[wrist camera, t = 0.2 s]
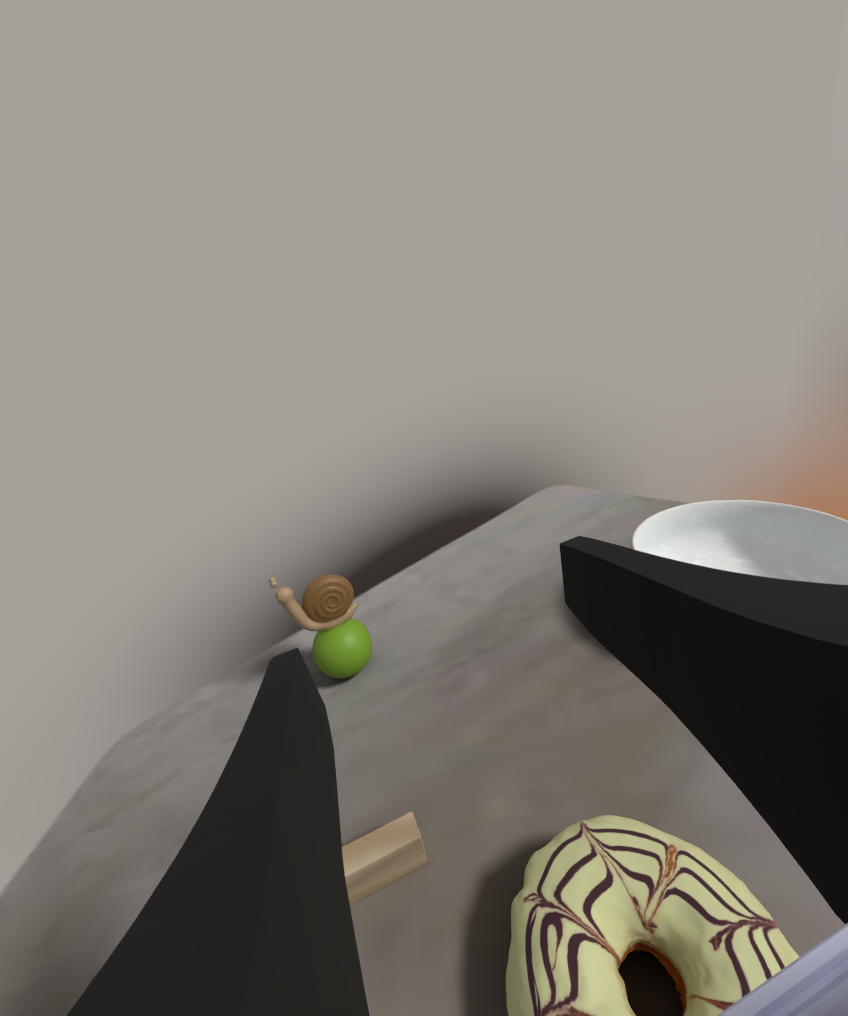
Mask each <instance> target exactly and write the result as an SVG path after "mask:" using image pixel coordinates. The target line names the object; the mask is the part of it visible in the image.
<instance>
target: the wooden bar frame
mask: <svg viewBox="0 0 848 1016" xmlns="http://www.w3.org/2000/svg"><path fill="white" fill-rule="evenodd" d="M342 855H343V864H344V872H345V880H346V886H347V892H348V898H349V904H350V905H351V904H353V903H355V902H357V901H358V900H360V899H362V898H364V897H366V896H368V895H369V894H371V893H373V892H375V891H377V890H379V889H380V888H382V887H384V886H386V885H388V884H390V883H391V882H393V881H395V880H397V879H399V878H401V877H402V876H404V875H406V874H408V873H410V872H412V871H413V870H415V869H417V868H419V867H421V866H423V865H424V864H426V863H428V862H429V860H428V857H427V854H426V851H425V848H424V845H423V842H422V838H421V835H420V832H419V830H418V827H417V824H416V821H415V818H414V815H413V812H410V813H408V814H406V815H404V816H402V817H400V818H398V819H396V820H394V821H392V822H390V823H388V824H387V825H385V826H383V827H381V828H379V829H377V830H375V831H373V832H371V833H369V834H367V835H365V836H363V837H361V838H359V839H357V840H355V841H353V842H351V843H349V844H347V845H345V846H343V847H342Z"/></svg>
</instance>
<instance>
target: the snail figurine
mask: <svg viewBox="0 0 848 1016" xmlns="http://www.w3.org/2000/svg"><path fill="white" fill-rule="evenodd" d="M269 581H270V583H271V587H274V588H275V587H276V586H277V582H276V579H275V578H274V577H272V578H270V579H269ZM275 591H276V595H275V598H276V599H278V602H279V603H280V604H281V605H282V606H283V607H284V609H285V610H286V612H287V613H288V614H289V615H290V616H291V618H292V619H293V620H294V621H295V622H296V623H297V624H298V625H300V626H301V627H302V628H304V629H306V630H309V631H318V632H317V634H316V636H315V638H314V642H313V657H314V660H315V663H316V665H317V666H318V668H319V669H320V670H321V671H322V672H323V673H325V674H326V675H328V676H331V677H334V678H347V677H351V676H353V675H355V674H357V673H358V672H359V671H361V670H362V669H363V668H364V666H365V665H366V664H367V662H368V660H369V658H370V655H371V651H372V641H371V636H370V634H369V632H368V630H367V628H366V627H365V626H364V625H363V624H362V623H361V622H359V621H358V620H356V619H353V618H351V617H352V615H353V614H354V612H355V610H356V608H357V603H353V604H352V601H353V595H354V594H353V588H352V586H351V584H350V583H349V581H348V580H346V579H345V578H343V577H342V576H339V575H332V574H331V575H324V576H321V577H319V578H317V579H315V580H314V581H313V582H311V583H310V584H309V585H308V587H307V588H306V590H305V591H304V594H303V598H302V608H301V607H300V606H299V604H298V603H297V602H296V601H295V599H294V597H293V592H292V590H291V589H290V588H287V587H282V588H281V589H279V590H277V589H276V588H275Z"/></svg>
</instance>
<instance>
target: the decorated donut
mask: <svg viewBox="0 0 848 1016" xmlns="http://www.w3.org/2000/svg"><path fill="white" fill-rule="evenodd" d="M511 933H512V938H511V944H510V949H509V958H508V965H507V971H506V1002H507V1011H508V1016H636V1015H635V1014H634V1012H633V1011H632V1009H631V1007H630V1005H629V1002H628V999H627V995H626V988H625V984H624V981H623V979H622V977H621V976H620V974H619V972H618V969H619V967H620V965H621V963H622V961H623V960H624V959H625V958H626V955H627V954H628V953H629V952H632V951H637V952H638V951H640V950H643V951H646V952H650V953H652V954H653V955H655V957H656V958H658V961H660V962H661V963H662V964H663V966H664V967H665V968H666V969H667V971H668V974H670V975H671V976H672V977H673V979H674V981H675V982H676V988H675V989H676V990H678V991H679V993H680V994H681V997H679V998H681V1001H682V1003H683V1010H684V1015H683V1016H717V1015H718V1014H720V1013H721V1012H723V1011H724V1010H725V1009H727V1008H728V1007H730V1006H731V1005H733V1004H734V1003H735V1002H737V1001H738V1000H740V999H741V998H742V997H744V996H745V995H747V994H748V993H750V992H751V991H752V990H754V989H755V988H757V987H758V986H759V985H761V984H762V983H764V982H765V981H766V980H768V979H769V978H771V977H772V976H774V975H775V974H776V973H778V972H779V971H781V970H782V969H783V968H785V967H786V966H788V965H789V964H790V963H792V962H793V961H795V960H796V959H798V958H799V956H798V955H797V953H796V952H795V951H794V950H793V949H792V948H791V947H790V945H789V944H788V942H787V941H786V939H785V937H784V936H783V935H782V933H781V932H780V930H779V928H778V927H777V925H776V924H775V922H774V920H773V919H772V917H771V916H770V914H769V913H768V912H767V911H766V909H765V908H764V907H763V906H762V905H761V904H760V902H759V901H758V900H757V899H756V898H755V897H754V896H753V895H752V894H751V892H750V891H749V890H748V888H747V887H746V885H745V884H744V883H743V882H742V881H741V880H739V879H738V878H737V877H736V876H735V875H734V874H733V873H732V872H730V871H729V870H728V869H726V868H725V867H724V866H722V865H721V864H720V863H718V862H717V861H716V860H714V859H713V858H712V857H710V856H709V855H707V854H706V853H705V852H703V851H702V850H701V849H699V848H698V847H696V846H694V845H692V844H690V843H687V842H685V841H683V840H681V839H679V838H677V837H675V836H673V835H670V834H667V833H665V832H662V831H659V830H657V829H656V828H653V827H651V826H648V825H646V824H644V823H642V822H639V821H636V820H633V819H629V818H623V817H619V816H613V815H603V816H599V817H595V818H592V819H589V820H582V821H579V822H577V823H576V824H573V825H571V826H569V827H567V828H566V829H565V830H563V831H562V832H560V833H559V834H557V835H556V836H555V837H554V838H553V839H552V840H551V841H550V842H549V843H548V844H547V845H546V846H545V847H543V848H541V849H540V850H538V851H536V852H534V854H533V855H532V856H531V858H530V860H529V861H528V864H527V866H526V868H525V874H524V886H523V888H522V890H521V891H520V892H519V893H518V894H517V896H516V897H515V898H514V900H513V902H512V906H511Z"/></svg>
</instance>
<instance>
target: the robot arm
mask: <svg viewBox="0 0 848 1016" xmlns="http://www.w3.org/2000/svg"><path fill="white" fill-rule="evenodd" d="M560 553H561V563H562V573H563V583H564V594H565V603H566V604H567V606H568V607H569V608H570V609H571V611H572V612H573V613H574V614H575V616H576V617H577V618H578V619H579V621H580V622H581V623H582V624H583V625H584V627H585V628H586V629H587V630H588V631H589V632H590V633H591V634H592V635H593V636H594V637H595V638H596V639H597V640H598V641H599V642H600V643H601V644H602V645H603V646H604V647H605V648H606V649H607V650H609V651H610V652H611V653H612V654H613V655H614V656H615V657H616V658H617V659H618V660H619V661H620V662H621V663H622V664H624V665H625V666H626V667H627V668H628V669H629V670H630V671H631V672H632V673H633V674H634V675H635V676H636V677H637V678H639V679H640V680H641V681H642V682H643V683H644V684H645V685H646V686H647V687H648V688H649V689H650V690H651V691H653V692H654V693H655V694H656V695H657V696H658V697H659V698H660V699H661V700H662V701H663V702H664V703H665V704H666V705H667V706H668V707H669V708H670V709H671V710H672V712H673V713H674V714H675V715H676V716H677V717H678V718H679V719H680V720H681V722H682V723H683V724H684V725H685V726H686V727H687V728H688V729H689V731H690V732H691V733H692V734H693V735H694V736H695V737H696V738H697V739H698V741H699V742H700V743H701V744H702V745H703V746H704V747H705V749H706V750H707V751H708V752H709V753H710V755H711V756H712V757H713V758H714V759H715V760H716V762H717V763H718V764H719V765H720V766H721V767H722V769H723V770H724V771H725V772H726V773H727V775H728V776H729V777H730V778H731V779H732V780H733V782H734V783H735V784H736V785H737V787H738V788H739V789H740V790H741V791H742V793H743V794H744V795H745V796H746V798H747V799H748V800H749V801H750V803H751V804H752V805H753V806H754V808H755V809H756V810H757V811H758V813H759V814H760V815H761V816H762V818H763V819H764V820H765V821H766V823H767V824H768V825H769V826H770V827H771V829H772V830H773V831H774V833H775V834H776V835H777V836H778V838H779V839H780V840H781V842H782V843H783V844H784V846H785V847H786V848H787V850H788V851H789V852H790V854H791V855H792V856H793V858H794V859H795V860H796V861H797V863H798V864H799V865H800V867H801V868H802V869H803V871H804V872H805V873H806V875H807V876H808V877H809V879H810V880H811V881H812V882H813V884H814V885H815V887H816V888H817V889H818V891H819V892H820V893H821V895H822V896H823V898H824V899H825V900H826V902H827V903H828V904H829V906H830V907H831V908H832V910H833V911H834V913H835V914H836V915H837V916H838V917H839V918H840V919H841V920H842V921H843V922H844V923H845V924H846V925H844V926H843V927H841V928H840V929H839V930H837V931H836V932H834V933H833V934H831V935H830V936H829V937H827V938H826V939H824V940H823V941H822V942H820V943H819V944H817V945H816V946H815V947H813V948H812V949H810V950H809V951H807V952H806V953H805V954H803V955H802V956H800V957H799V958H798V959H796V960H795V961H793V962H792V963H790V964H789V965H788V966H786V967H785V968H783V969H782V970H781V971H779V972H778V973H776V974H775V975H774V976H772V977H771V978H769V979H768V980H766V981H765V982H764V983H762V984H761V985H759V986H758V987H757V988H755V989H754V990H752V991H751V992H750V993H748V994H747V995H745V996H744V997H742V998H741V999H740V1000H738V1001H737V1002H735V1003H734V1004H733V1005H731V1006H730V1007H728V1008H727V1009H725V1010H724V1011H723V1012H721V1013H720V1014H718V1015H717V1016H848V585H838V584H826V583H815V582H805V581H794V580H785V579H777V578H769V577H762V576H756V575H749V574H743V573H736V572H730V571H725V570H719V569H714V568H709V567H705V566H700V565H695V564H690V563H686V562H681V561H677V560H673V559H669V558H665V557H661V556H657V555H653V554H649V553H645V552H641V551H637V550H634V549H630V548H626V547H622V546H619V545H615V544H611V543H607V542H603V541H600V540H596V539H591V538H587V537H582V536H578V537H575V538H573V539H570V540H568V541H565V542H562V543H560ZM67 1016H369V1011H368V1005H367V1000H366V995H365V989H364V984H363V978H362V973H361V967H360V961H359V956H358V950H357V945H356V939H355V933H354V928H353V922H352V916H351V910H350V904H349V898H348V892H347V886H346V880H345V872H344V864H343V855H342V845H341V832H340V819H339V807H338V794H337V782H336V770H335V758H334V747H333V742H332V737H331V731H330V726H329V722H328V717H327V712H326V707H325V704H324V702H323V700H322V698H321V696H320V694H319V692H318V690H317V688H316V685H315V683H314V681H313V679H312V677H311V675H310V673H309V671H308V669H307V666H306V664H305V662H304V660H303V658H302V656H301V654H300V652H299V650H298V648H296V649H293V650H291V651H288V652H286V653H283V654H281V655H278V656H276V657H273V658H272V659H271V661H270V663H269V665H268V668H267V670H266V673H265V676H264V678H263V681H262V684H261V686H260V689H259V691H258V694H257V696H256V699H255V701H254V704H253V706H252V709H251V711H250V713H249V716H248V718H247V720H246V723H245V725H244V727H243V730H242V732H241V734H240V737H239V739H238V741H237V743H236V745H235V748H234V750H233V752H232V754H231V756H230V758H229V760H228V762H227V764H226V766H225V768H224V770H223V772H222V774H221V776H220V778H219V781H218V783H217V785H216V787H215V789H214V791H213V792H212V794H211V796H210V798H209V800H208V802H207V804H206V806H205V807H204V809H203V811H202V813H201V815H200V817H199V818H198V820H197V822H196V824H195V825H194V827H193V829H192V831H191V832H190V834H189V836H188V838H187V839H186V841H185V843H184V844H183V846H182V848H181V850H180V851H179V853H178V854H177V856H176V858H175V859H174V861H173V862H172V864H171V866H170V867H169V869H168V870H167V872H166V873H165V875H164V877H163V878H162V880H161V881H160V883H159V884H158V886H157V887H156V889H155V890H154V892H153V894H152V895H151V897H150V898H149V900H148V901H147V903H146V904H145V906H144V907H143V909H142V911H141V912H140V914H139V915H138V917H137V918H136V920H135V921H134V923H133V924H132V926H131V927H130V929H129V930H128V931H127V933H126V934H125V936H124V937H123V939H122V940H121V941H120V943H119V944H118V946H117V947H116V948H115V950H114V951H113V953H112V954H111V956H110V957H109V958H108V960H107V961H106V963H105V964H104V966H103V967H102V968H101V970H100V971H99V972H98V974H97V975H96V977H95V978H94V979H93V981H92V982H91V983H90V985H89V986H88V987H87V989H86V990H85V992H84V993H83V994H82V996H81V997H80V998H79V1000H78V1001H77V1003H76V1004H75V1005H74V1007H73V1008H72V1009H71V1011H70V1012H69V1013H68V1015H67Z"/></svg>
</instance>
